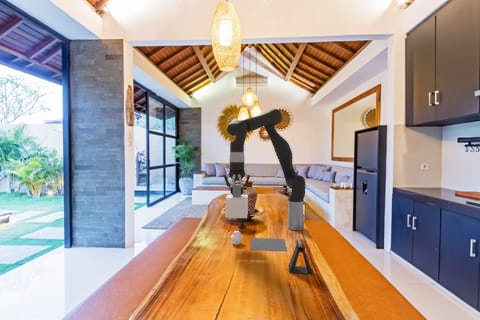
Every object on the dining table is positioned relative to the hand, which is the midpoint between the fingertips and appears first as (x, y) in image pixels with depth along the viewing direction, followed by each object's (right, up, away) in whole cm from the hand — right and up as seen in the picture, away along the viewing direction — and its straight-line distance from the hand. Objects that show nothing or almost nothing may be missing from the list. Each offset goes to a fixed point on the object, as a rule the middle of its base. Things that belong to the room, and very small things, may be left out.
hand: (236, 194), depth 138 cm
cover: (0, -11, 0) cm, 11 cm away
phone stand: (+26, -27, -29) cm, 47 cm away
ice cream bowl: (+3, -25, +31) cm, 40 cm away
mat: (+16, -26, 0) cm, 30 cm away
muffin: (0, -26, +1) cm, 26 cm away
